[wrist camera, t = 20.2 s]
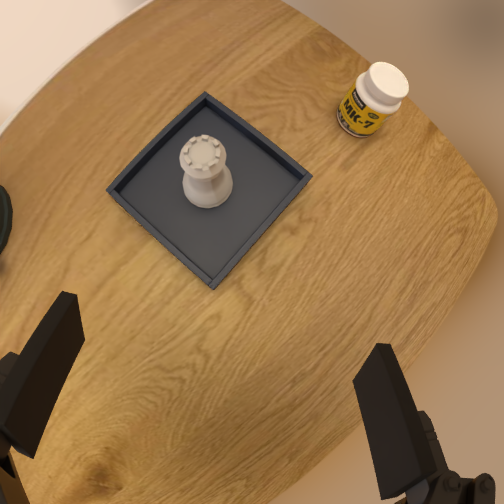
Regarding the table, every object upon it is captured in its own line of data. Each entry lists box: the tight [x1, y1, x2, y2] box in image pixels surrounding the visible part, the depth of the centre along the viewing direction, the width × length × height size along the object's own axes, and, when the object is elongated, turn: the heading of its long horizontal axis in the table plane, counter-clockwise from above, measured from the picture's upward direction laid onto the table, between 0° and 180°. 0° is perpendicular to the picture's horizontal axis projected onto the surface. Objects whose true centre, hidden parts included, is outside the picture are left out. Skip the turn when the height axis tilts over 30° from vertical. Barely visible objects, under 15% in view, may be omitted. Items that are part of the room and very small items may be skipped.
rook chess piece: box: [179, 135, 233, 208], centre depth 24 cm, size 4×4×8 cm
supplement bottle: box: [337, 62, 409, 137], centre depth 26 cm, size 5×5×8 cm
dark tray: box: [106, 92, 313, 290], centre depth 28 cm, size 13×13×2 cm
